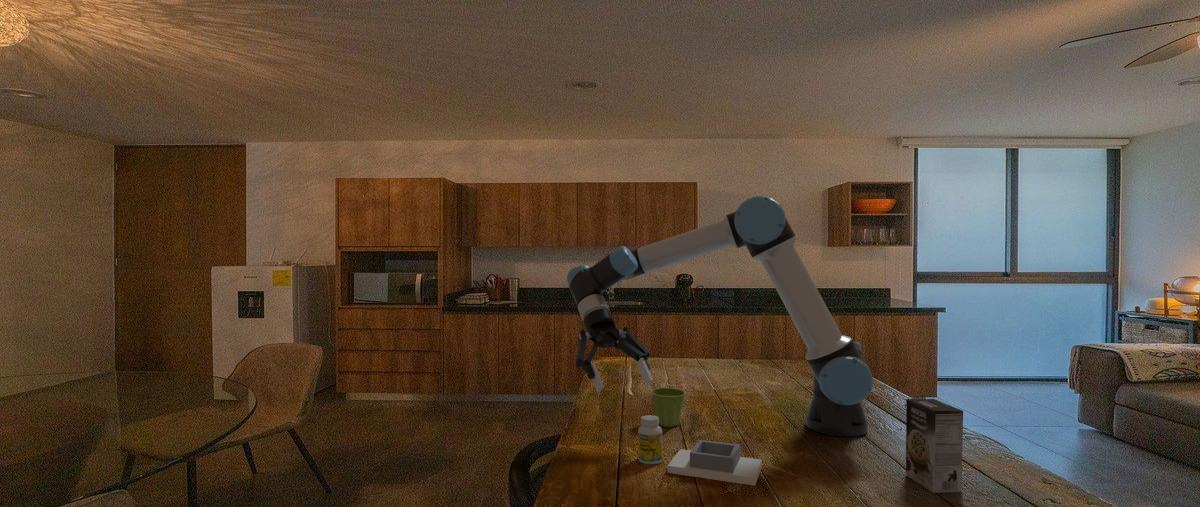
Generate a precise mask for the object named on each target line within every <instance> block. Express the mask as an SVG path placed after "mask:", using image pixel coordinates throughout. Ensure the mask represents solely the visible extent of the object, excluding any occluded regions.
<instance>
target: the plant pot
mask: <svg viewBox="0 0 1200 507" xmlns="http://www.w3.org/2000/svg"><path fill="white" fill-rule="evenodd" d="M650 394H651V397H652V399H653V406H654V407H653V408H654V412H655V413H654V416H657V417H658V418H659V426H660V427H665V428H668V427H669V428H673V427H675V426H676V427H677V426H678V427H679V425H680V421H681V420H680V419H681V414H682V406H683V401H684V398H685V396H686V395H687V394H686V391H685V390H683V389H679V388H675V387H658V388H657V387H656V388H653V389H651V390H650Z"/></svg>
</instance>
